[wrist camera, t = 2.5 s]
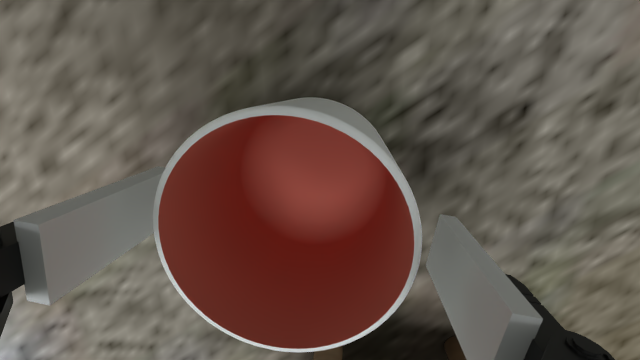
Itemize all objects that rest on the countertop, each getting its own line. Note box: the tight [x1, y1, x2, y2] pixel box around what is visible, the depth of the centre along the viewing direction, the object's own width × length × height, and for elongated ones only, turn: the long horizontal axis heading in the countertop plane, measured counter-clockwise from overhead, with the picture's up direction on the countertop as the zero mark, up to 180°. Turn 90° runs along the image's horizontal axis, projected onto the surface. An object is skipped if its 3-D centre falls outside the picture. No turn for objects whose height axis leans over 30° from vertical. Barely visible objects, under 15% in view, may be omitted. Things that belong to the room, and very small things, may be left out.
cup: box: [153, 97, 422, 352], centre depth 16 cm, size 10×10×10 cm
